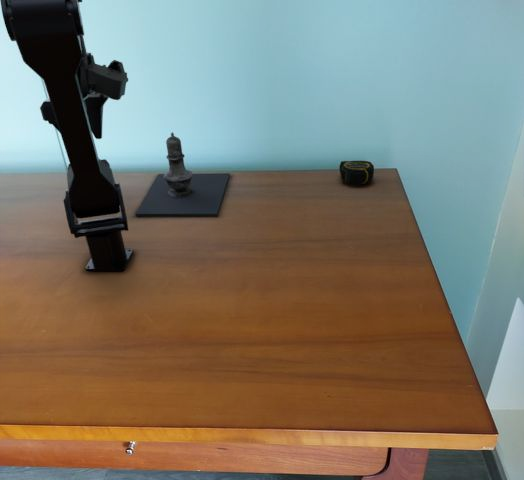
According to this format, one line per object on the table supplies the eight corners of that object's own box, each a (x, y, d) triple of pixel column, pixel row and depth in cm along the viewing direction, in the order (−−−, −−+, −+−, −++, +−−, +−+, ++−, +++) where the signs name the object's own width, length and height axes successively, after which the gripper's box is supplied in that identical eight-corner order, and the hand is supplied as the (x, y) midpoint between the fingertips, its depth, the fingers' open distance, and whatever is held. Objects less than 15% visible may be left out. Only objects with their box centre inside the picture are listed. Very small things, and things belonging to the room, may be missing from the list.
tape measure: (370, 175, 113) (372, 157, 111) (374, 188, 108) (376, 170, 106) (338, 175, 114) (339, 158, 111) (340, 188, 109) (342, 170, 106)
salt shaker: (176, 200, 105) (167, 139, 98) (160, 192, 109) (150, 132, 101) (200, 191, 108) (193, 131, 101) (184, 183, 112) (176, 125, 104)
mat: (217, 216, 101) (217, 213, 100) (135, 216, 102) (135, 213, 101) (229, 175, 116) (229, 173, 116) (158, 176, 117) (158, 173, 117)
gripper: (98, 61, 77) (120, 166, 87) (131, 36, 91) (147, 129, 101) (25, 62, 78) (55, 167, 88) (69, 38, 92) (91, 130, 102)
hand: (91, 147), depth 95 cm, fingers open, 9 cm apart
